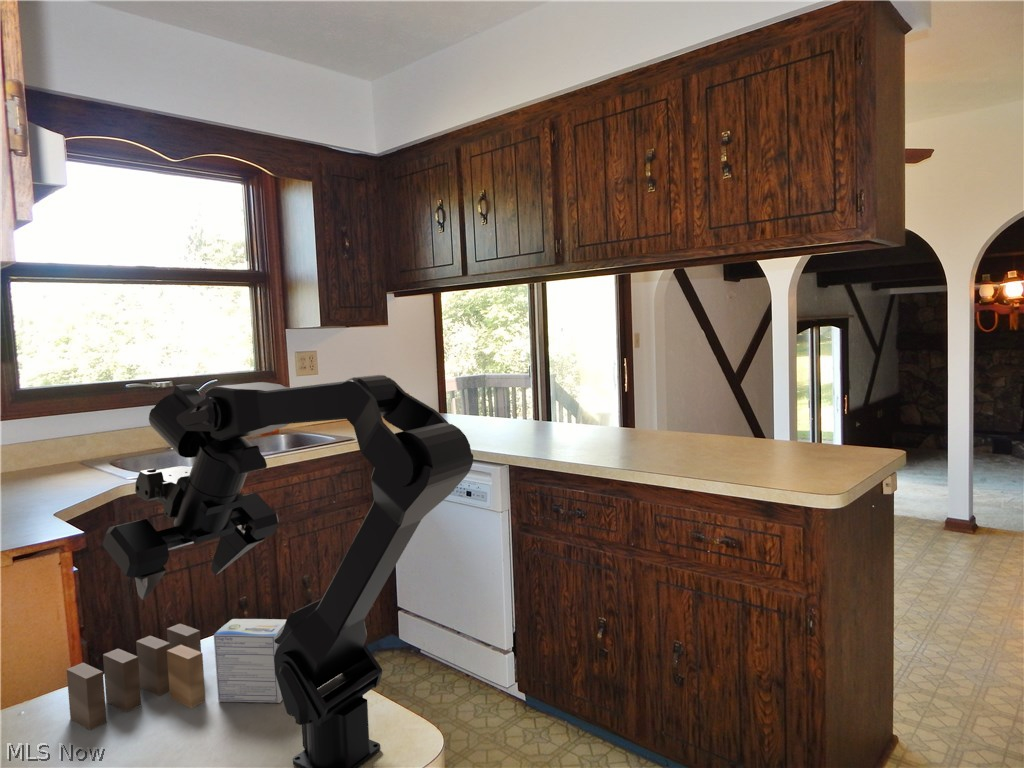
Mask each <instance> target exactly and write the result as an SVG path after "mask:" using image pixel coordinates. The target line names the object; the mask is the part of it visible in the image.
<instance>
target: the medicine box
mask: <svg viewBox="0 0 1024 768" xmlns="http://www.w3.org/2000/svg"><path fill="white" fill-rule="evenodd" d="M286 620H287V619H280V618H279V619H278V618H277V619H276V618H272V619H271V618H270V619H269V618H232V619H230V620H229V621H228V622H227V623H225V624H224V625H222V626H221V628H219V629H218V630H216V632H215V633H214V634H213V645H214V657H215V658H214V659H215V672H216V673H215V674H216V687H217V689H216V690H217V699H218V700H217V701H218V702H219V703H220V702H221V703H222V702H223V703H224V702H225V703H226V702H227V703H228V702H229V703H230V702H231V703H233V702H234V703H270V704H271V703H274V704H275V703H276V704H277V703H278V704H280V703H281V702H282V701H283V698H282V695H281V691H280V688H279V684H278V681H277V678H276V674H275V663H274V656H275V652H276V649H277V647H278V645H279V644H277V643H275V641H274V640H275V639H276V638H278V637H279V636H280V635H281V633H282V632H283V629H284V626H285V623H286Z"/></svg>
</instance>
